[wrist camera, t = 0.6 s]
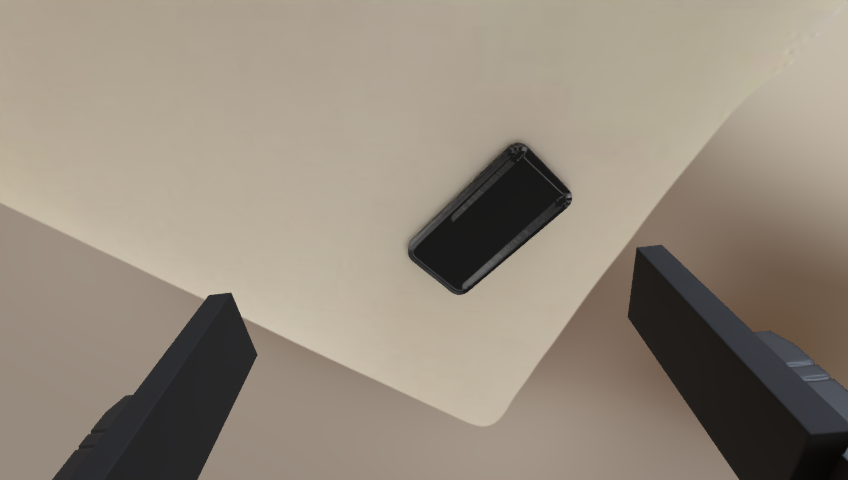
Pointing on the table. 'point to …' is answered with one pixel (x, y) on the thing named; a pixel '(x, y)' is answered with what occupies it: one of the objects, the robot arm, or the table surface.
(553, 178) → the phone
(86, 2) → the table surface
